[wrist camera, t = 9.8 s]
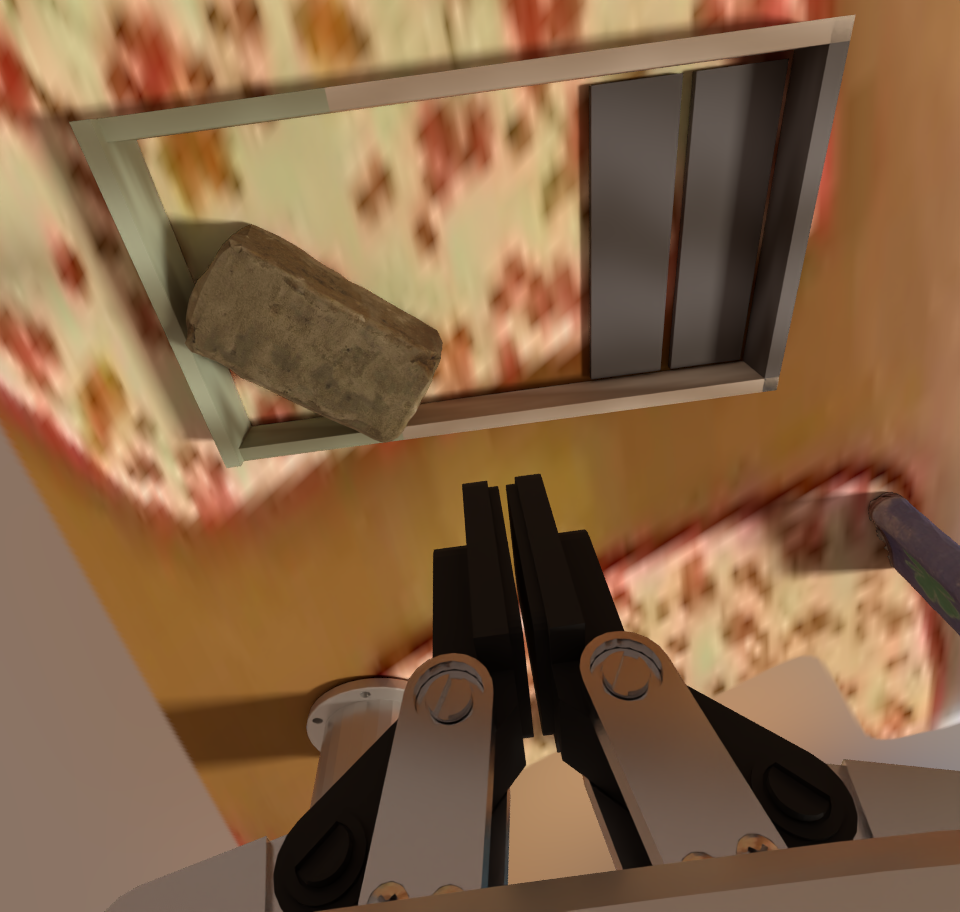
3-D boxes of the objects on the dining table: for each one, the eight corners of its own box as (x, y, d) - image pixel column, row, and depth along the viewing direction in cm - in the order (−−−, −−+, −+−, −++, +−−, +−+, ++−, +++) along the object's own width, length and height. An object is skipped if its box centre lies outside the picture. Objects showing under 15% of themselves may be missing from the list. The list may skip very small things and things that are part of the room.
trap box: (754, 371, 32) (781, 394, 29) (243, 439, 32) (226, 468, 29) (816, 23, 23) (864, 12, 20) (109, 120, 23) (69, 121, 20)
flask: (861, 503, 38) (993, 624, 29) (903, 481, 37) (1053, 599, 28) (891, 573, 42) (1015, 698, 33) (930, 555, 41) (1067, 679, 33)
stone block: (400, 410, 32) (394, 455, 28) (203, 312, 28) (161, 348, 24) (449, 328, 29) (450, 364, 25) (240, 209, 25) (200, 228, 21)
